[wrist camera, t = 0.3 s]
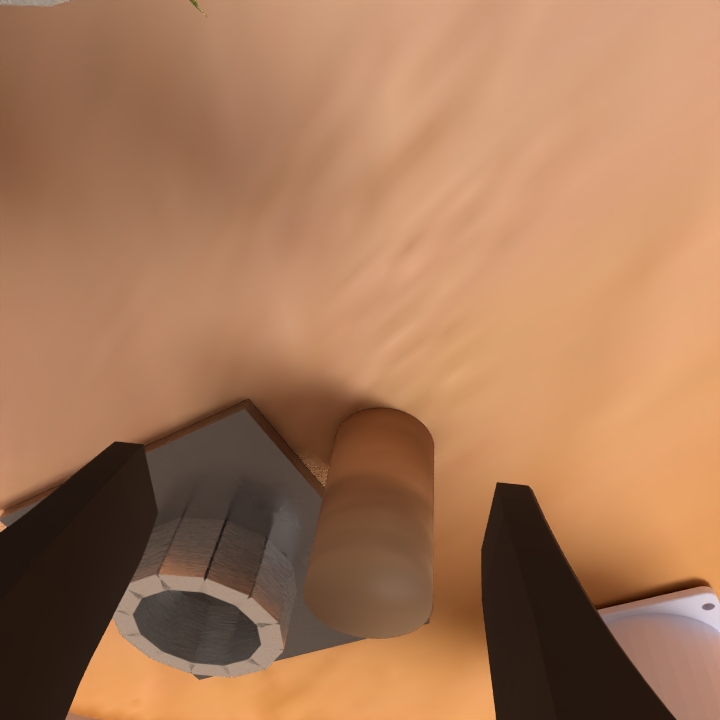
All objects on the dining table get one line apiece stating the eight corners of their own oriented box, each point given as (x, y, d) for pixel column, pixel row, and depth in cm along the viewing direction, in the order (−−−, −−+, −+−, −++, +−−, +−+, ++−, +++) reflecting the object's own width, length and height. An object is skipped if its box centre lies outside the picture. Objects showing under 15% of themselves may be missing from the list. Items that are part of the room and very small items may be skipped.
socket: (429, 611, 31) (428, 684, 28) (202, 669, 36) (181, 734, 33) (248, 399, 24) (221, 464, 21) (5, 510, 30) (-43, 573, 27)
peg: (451, 463, 25) (455, 622, 19) (367, 493, 26) (347, 648, 21) (403, 393, 23) (391, 545, 17) (315, 429, 25) (278, 579, 19)
